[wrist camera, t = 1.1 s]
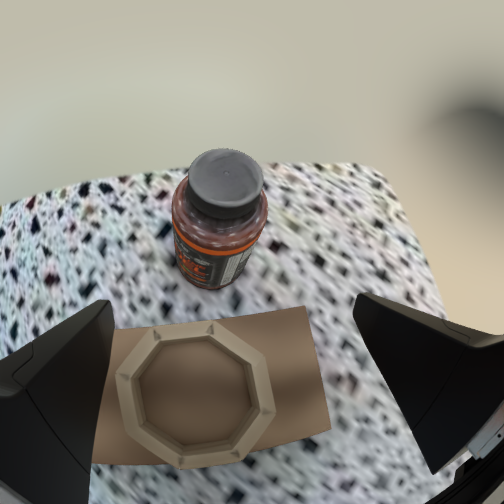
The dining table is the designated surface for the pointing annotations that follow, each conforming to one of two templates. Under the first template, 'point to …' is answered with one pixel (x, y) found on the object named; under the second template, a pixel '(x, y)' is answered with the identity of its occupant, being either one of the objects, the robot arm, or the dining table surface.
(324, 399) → the collar board
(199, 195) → the supplement bottle
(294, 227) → the dining table surface
